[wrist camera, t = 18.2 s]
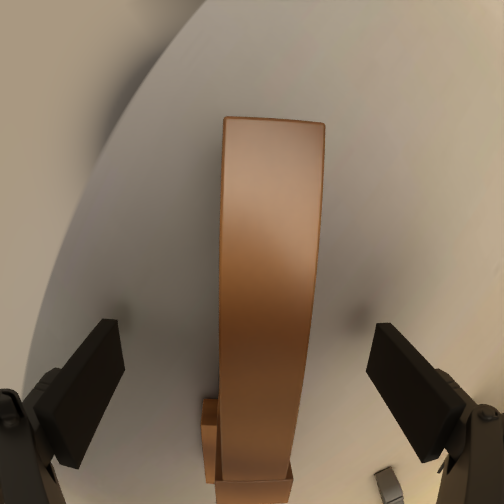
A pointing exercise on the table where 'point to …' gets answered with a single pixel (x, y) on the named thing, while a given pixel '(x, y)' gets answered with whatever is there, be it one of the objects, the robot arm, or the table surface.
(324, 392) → the table surface
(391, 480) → the extruded letter logo
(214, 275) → the table surface
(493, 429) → the robot arm
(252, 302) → the wooden zigzag step
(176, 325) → the table surface
